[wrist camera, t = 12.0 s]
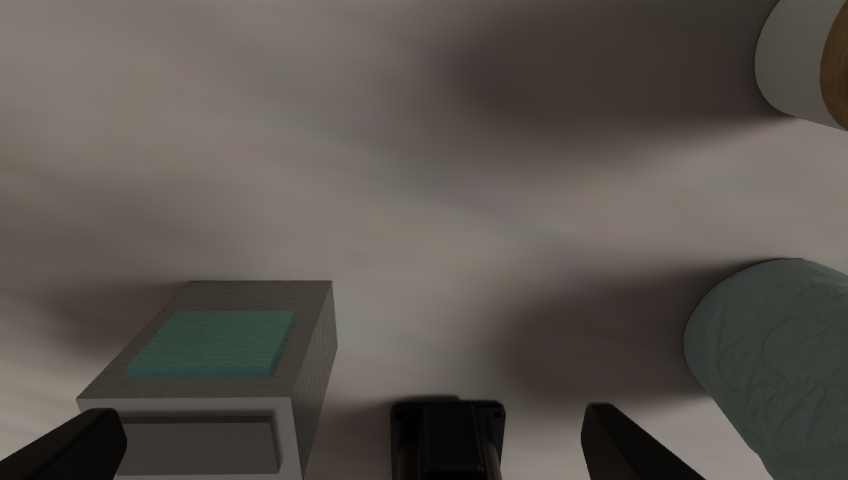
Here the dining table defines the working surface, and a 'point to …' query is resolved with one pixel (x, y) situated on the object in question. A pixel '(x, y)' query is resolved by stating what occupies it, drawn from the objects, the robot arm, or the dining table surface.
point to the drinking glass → (779, 364)
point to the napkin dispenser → (223, 382)
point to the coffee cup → (806, 60)
